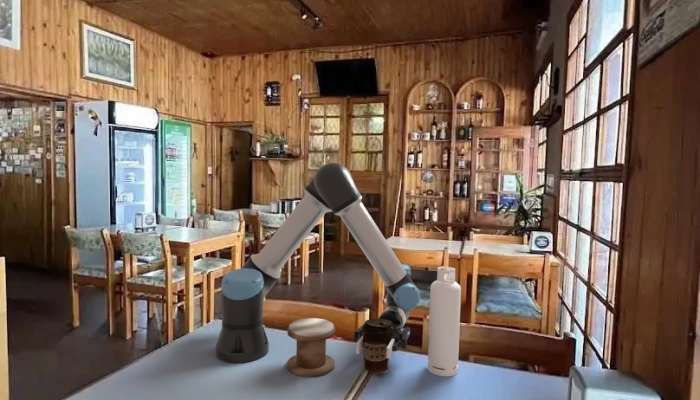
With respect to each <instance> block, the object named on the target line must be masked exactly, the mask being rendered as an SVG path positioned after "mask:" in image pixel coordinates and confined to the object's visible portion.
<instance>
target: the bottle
mask: <svg viewBox="0 0 700 400" xmlns="http://www.w3.org/2000/svg"><path fill="white" fill-rule="evenodd" d="M436 272H437V273H436V280H434V281H433V282H432V283H431V284H430V287H429V288H430V289H429V290H430V291H429V292H430V293H429V318H428V320H429V322H428V323H429V325H428V351H427V355H428V356H427V360H428V361H427V370H428V371H429V372H430V373H431V374H432V375H436V376H439V377H453V376H456V375H457V374H458V373H459V352H460V351H459V350H460V346H459V345H460V328H461V327H460V324H461V323H460V322H461V297H462V294H461V293H462V287H461V285H460V284H459V283H458V282H457V281H456V268H454V267H453V266H438V267H437V269H436Z"/></svg>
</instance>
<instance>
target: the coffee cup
mask: <svg viewBox="0 0 700 400" xmlns="http://www.w3.org/2000/svg"><path fill="white" fill-rule="evenodd" d="M365 322H366V323H365ZM365 322H364V323H365V324H364V323H363V324H362V325H363V328H362V329H363V361H364V370H365V371H366V372H369V373H372V374H385V373H387V372H389V365H388V363H389V360H390V358H389V359H388V358H386V354H387V347H388V345H389V343H390V341H391V340H392V334H393V331H394V327H393V326H392V325H391V324H392V322H391V321H389V320H387V319H381V318H379V317H378V318H371V319H367V320H365Z"/></svg>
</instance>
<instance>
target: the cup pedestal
mask: <svg viewBox="0 0 700 400" xmlns="http://www.w3.org/2000/svg"><path fill="white" fill-rule="evenodd" d="M286 332H287V336H288V337H289V338H291V339H293V340H296V351H295V352H296V353H295V355H292V356H291V357H290V358H289V359H287V362H286V369H287V371H289V373H290V374H292V375H295V376H298V377H304V378H315V377H317V378H318V377H321V376H325V375H328V374H330V373H331V372H332V371H334V369H335V366H336V365H335V362H336V361H335V359H334V358H333V357H332V356H330V355H329V354H326V353H327V340H329V339H330V338H332V337H334V336H335V334H336V327H335V325H334V324H333V322H332V321H330V320H327V319H323V318H317V317H316V318H315V317H310V318H309V317H308V318H301V319H297V320H293V321H292V322H291V323H289V325H288V327H287V331H286Z"/></svg>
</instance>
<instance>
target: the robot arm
mask: <svg viewBox="0 0 700 400" xmlns="http://www.w3.org/2000/svg"><path fill="white" fill-rule="evenodd" d="M353 178H354V177H353V176H352V174H351V172H350V170H349V169H348V168H347V167H346V166H344V165H343V164H341V163H338V162H328V163H326V164H324V165H322V166H320V168H318V169H317V171H316V173H315V175H313V177H312V179H310V181H309V182H308V183H307V185H306V186H304V189H303V191H304V195H303V198H302V199H301V200H300V201H299V202H298V203H297V205H296V206H295V208H294V209H293V210H292V211H291V212H290V214H289V215H288V217H287V218H286V219H285V220H284V222H282V224H281V225H280V226H279V228H278V229H277V230H276V232H275V233H274V234H273V235H272V236H271V237H270V239H269V241H267V243H266V244H265V245H264V247H262V248H261V251H259V253H255V254H251V255H250V257H249V258H248V259H247V261H245V263H244V264H243V265H242V267H241V268H237V269H233V270H230V271H228V272H227V273H225V274H224V275H223V277H222V280H221V288H220V289H221V329H220V332H219V335H218V339H217V341H216V344H215V357H216V358H218V360H221V361H223V362H227V363H246V362H253V361H256V360H259V359H261V358H264V357H265V356H266V355H267V354H268V353H269V347H270V343H269V340H268V336H267V333H266V330H265V328H264V323H263V322H264V300H265V299H266V297H267V294H268V293H269V292H270V290H271V289H272V288H273V287H274V286H275V284H276V283H277V282H278V280H279V279H280V278H281V269H282V268H283V267H284V265H286V263H287V262H288V261H289V260H290V258H291V257H292V255H293V254H294V253H295V252H296V250H297V249H298V248H299V246H300V245H301V244H302V243H303V241H304V240H305V239H306V237H308V235H309V234H310V233H311V231H312V230H313V229H314V228H315V226H317V224H318V223H319V222H320V221H321V220H322V218H323V217H324V215H325V214H326V213H331V212H332V213H333V215H335V216H338V217H340V218H341V220H342V222H343V223H344V225H345V227H346V228H347V230H348V231H349V233H350V234H351V235H352V237H353V239H354V240H355V242H356V243H357V245H358V246H359V247H360V249H361V250H362V252H363V254H364V255H365V257H366V258H367V261H368V262H369V263H370V264H371V266H372V267H373V269H374V270H375V272H376V273H377V275H378V277H379V278H380V280H381V281H382V284H384V286H385V287H386V306H385V309H384V310H383V311H382V313H381V315H379V317H378V318H381V319H387V320H389V321H391V322H392V324H391V325H392V326H393V327H394V331H393V334H392V340H391V341H390V343H389V345H388V347H387V354H386V358H388V359H389V360H390V358H391V357H392V355H393V352H397V351H398V350H399V349H400V348H401V349H403V350H404V349H407V346H408V343H407V342H408V339H409V337H410V336H411V334H410V333H411V328H410V327H408V326H407V327H405V328H404V326H405V324H406V322H407V320H408V319H409V318H410V315H411V312H412V310H413V309H416V308H417V306H418V305H419V303H420V302H421V294H420V290H419V288H418V287H417V285H416V284H415V283H414V281H413V280H412V278H411V277H412V273H411V271H412V270H411V269H412V268H411V267H410V266H409V265H408V264H403V263H401V262H400V260H399V258H398V257H397V255H396V254H395V252H394V250H393V249H392V248H391V245H390V244H389V243H388V241H387V239H386V238H385V236H384V235H383V233H382V232H381V230H380V228H379V227H378V225H377V223H375V221H374V219H373V218H372V216H371V215H370V213H369V211H368V210H367V209H366V206H364V205H365V204H363V202H362V199H363V196H362V194H361V193H360V191H359V189H358V188H357V185H356V184H355V182H354V179H353ZM365 323H366V321H364V323H363V324H362V325H361V326H360V327H358V328H357V329H356V330H355V331H354V332H353V341H354V342H356V343H355V345H356V346H355V354H356V355H358V354H360V353H361V352H362V350H364V347H363V329H362V328H363V325H364V324H365ZM400 334H401V335H402V338H401V339H400V336H399V335H400Z"/></svg>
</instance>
